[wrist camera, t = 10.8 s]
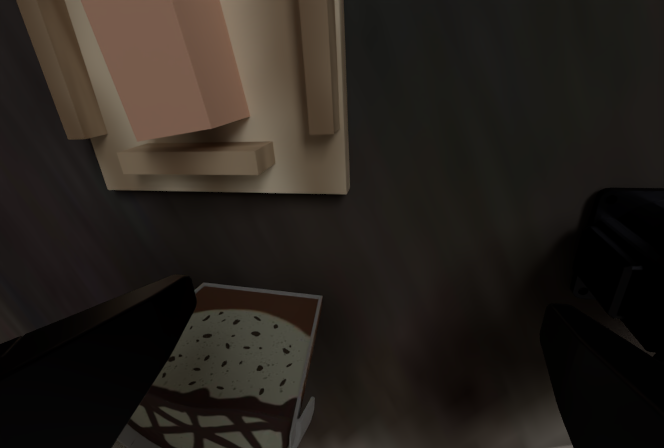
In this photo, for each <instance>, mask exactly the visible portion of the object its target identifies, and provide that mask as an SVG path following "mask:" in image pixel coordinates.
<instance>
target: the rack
mask: <svg viewBox="0 0 664 448" xmlns="http://www.w3.org/2000/svg"><path fill="white" fill-rule="evenodd" d="M16 1H17V4H18V6H19V9H20V12H21V14H22V17H23V20H24V22H25V25H26V28H27V31H28V33H29V36H30V39H31V41H32V44H33V47H34V49H35V52H36V55H37V57H38V60H39V63H40V65H41V68H42V71H43V73H44V76H45V79H46V81H47V84H48V87H49V89H50V92H51V95H52V97H53V100H54V103H55V105H56V108H57V111H58V113H59V116H60V119H61V121H62V124H63V127H64V130H65V132H66V135H67V138H68V139H88V138H90V139H91V142H92V145H93V148H94V151H95V154H96V156H97V159H98V162H99V165H100V168H101V171H102V174H103V177H104V180H105V182H106V185H107V188H108V190H145V191H198V192H251V193H303V194H347V192H348V190H349V188H350V174H349V145H348V116H347V87H346V58H345V29H344V0H220V3H221V7H222V11H223V14H224V18H225V22H226V26H227V29H228V33H229V37H230V41H231V45H232V48H233V52H234V56H235V60H236V63H237V67H238V71H239V75H240V79H241V82H242V86H243V90H244V94H245V97H246V101H247V105H248V109H249V112H250V117H247V118H244V119H240V120H237V121H234V122H231V123H228V124H225V125H222V126H218V127H215V128H212V129H207V130H201V131H196V132H190V133H184V134H179V135H173V136H167V137H162V138H156V139H150V140H145V141H139V142H137V140H136V137H135V135H134V132H133V130H132V127H131V125H130V122H129V120H128V117H127V115H126V112H125V110H124V107H123V105H122V102H121V100H120V97H119V95H118V92H117V90H116V87H115V85H114V82H113V80H112V77H111V75H110V73H109V70H108V68H107V65H106V63H105V60H104V58H103V55H102V53H101V50H100V48H99V45H98V43H97V40H96V38H95V35H94V33H93V30H92V28H91V25H90V23H89V20H88V18H87V15H86V13H85V10H84V8H83V5H82V3H81V0H16Z"/></svg>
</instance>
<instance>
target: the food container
mask: <svg viewBox="0 0 664 448" xmlns="http://www.w3.org/2000/svg"><path fill="white" fill-rule="evenodd" d="M194 291H195V294H196V298H197V305H196V308H195V310H194V312H193V314H192V316H191V318H190V320H189V322H188V324H187V326H186V328H185V330H184V332H183V333H182V335H181V337H180V339H179V341H178V343H177V345H176V347H175V349H174V351H173V352H172V354H171V356H170V358H169V359H168V361H167V363H166V364H165V366H164V367H163V369H162V370H161V372H160V373H159V375H158V377H157V378H156V380H155V381H154V383H153V384H152V386H151V387H150V389H149V390H148V392H147V394H146V395H145V397H144V398H143V400H142V401H141V403H140V404H139V406H138V408H137V409H136V411H135V412H134V414H133V415H132V417H131V418H130V420H129V421H128V423H127V425H126V426H125V428H124V429H123V431H122V432H121V434H120V435H119V437H118V438H117V440H118V441H119V442H120V443H122V444H123V445H124V446H125V447H127V448H297V447H298V445H299V443H300V441H301V439H302V437H303V435H304V433H305V431H306V429H307V427H308V426H309V424H310V422H311V419H312V415H313V412H314V401H315V397H311V399H310V401H309V403H308V404H307V406H306V408H305V410H304V412H303V413H302V415H301V417H300V419H299V416H300V411H301V406H302V401H303V396H304V392H305V387H306V382H307V377H308V372H309V367H310V363H311V358H312V353H313V348H314V343H315V338H316V333H317V329H318V324H319V319H320V314H321V309H322V300H323V296H319V295H310V294H302V293H293V292H284V291H275V290H266V289H257V288H248V287H239V286H230V285H221V284H212V283H202V284H201V285H200V286H199V287H198V288H197V289H195V290H194Z"/></svg>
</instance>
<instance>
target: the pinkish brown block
mask: <svg viewBox="0 0 664 448" xmlns="http://www.w3.org/2000/svg"><path fill="white" fill-rule="evenodd" d="M81 3H82V5H83V8H84V10H85V13H86V15H87V18H88V20H89V23H90V25H91V28H92V30H93V33H94V35H95V38H96V40H97V43H98V45H99V48H100V50H101V53H102V55H103V58H104V60H105V63H106V65H107V68H108V70H109V73H110V75H111V77H112V80H113V82H114V85H115V87H116V90H117V92H118V95H119V97H120V100H121V102H122V105H123V107H124V110H125V112H126V115H127V117H128V120H129V122H130V125H131V127H132V130H133V132H134V135H135V137H136V140H137V142H139V141H145V140H150V139H156V138H162V137H167V136H173V135H179V134H184V133H190V132H196V131H201V130H207V129H212V128H215V127H218V126H222V125H225V124H228V123H231V122H234V121H237V120H240V119H244V118H247V117H250V112H249V109H248V105H247V101H246V97H245V94H244V90H243V86H242V82H241V79H240V75H239V71H238V67H237V63H236V60H235V56H234V52H233V48H232V45H231V41H230V37H229V33H228V29H227V26H226V22H225V18H224V14H223V11H222V7H221V3H220V0H81Z"/></svg>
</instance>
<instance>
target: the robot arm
mask: <svg viewBox="0 0 664 448" xmlns="http://www.w3.org/2000/svg"><path fill="white" fill-rule="evenodd" d="M610 195H613V198H612V200H610V201H608V202H605V200H606V198H607V197H608V196H610ZM572 269H573V271H574V276H573V279H572V283H571V286H570V290H571V291H572V293H573V294H574V296H576V297H577V298H581V299H595V300H597V301H598V302H599V303H600V305H601V306H602V307H603V308H604V310H605V311H606V312H607V313H608V314H609V315H610V316H611V317H612V318H617V319H620V320H621V321H622V322H623V323H624V324H625V326H626V327H627V328H628V329H629V331H630V332H631V333H632V334H633V335H634V337H635V338H636V339H637V340H638V341H639V343H640V344H641V345H642V346H643V348H644V349H645V350H646V351H649V352H656V354H655V355H654V356H653V357H652V356H650V355H649V354H647V353H646V352H644V351H642V350H641V349H639V348H638V347H636V346H635V345H633V344H631V343H630V342H628V341H627V340H625V339H623V338H622V337H620V336H619V335H617V334H616V333H614V332H612V331H611V330H609V329H608V328H606V327H605V326H603V325H601V324H600V323H598V322H597V321H595V320H593V319H592V318H590V317H589V316H587V315H586V314H584V313H582V312H581V311H579V310H578V309H576V308H575V307H573V306H571V305H567V304H554V303H551V304H549V305H548V306H547V308H546V311H545V315H544V319H543V323H542V327H541V330H540V342H541V346H542V350H543V354H544V357H545V361H546V365H547V369H548V372H549V376H550V380H551V384H552V387H553V391H554V395H555V398H556V402H557V405H558V408H559V411H560V414H561V417H562V419H563V422H564V425H565V427H566V430H567V432H568V435H569V437H570V440H571V442H572V445H573V448H664V188H605V189H603V190H601V191H600V192H599V193H598V194H597V196H596V199H595V202H594V206H593V209H592V213H591V216H590V220H589V223H588V226H587V227H586V228H585V229H584V230H583V231H582V235H581V238H580V242H579V245H578V249H577V253H576V256H575V260H574V263H573V267H572ZM584 287H585V289H584V290H582V291H578V290H579V289H580V288H584ZM196 305H197V298H196V294H195V291H194V287H193V283H192V280H191V278H190V277H189V276H187V275H177V274H176V275H172V276H169V277H167V278H164V279H162V280H159V281H157V282H154V283H152V284H149V285H147V286H144V287H142V288H139V289H137V290H134V291H132V292H129V293H127V294H124V295H122V296H119V297H117V298H114V299H112V300H109V301H107V302H104V303H102V304H99V305H97V306H94V307H92V308H89V309H87V310H84V311H82V312H79V313H77V314H74V315H72V316H69V317H67V318H64V319H62V320H59V321H57V322H55V323H52V324H50V325H47V326H45V327H42V328H40V329H37V330H35V331H32V332H30V333H27V334H25V335H24V336H23V337H22V336H20V337H17V338H14V339H12V340H10V341H7V342H5V343H2V344H0V448H112V446H113V445H114V443H115V442H116V440H117V438H118V437H119V435H120V434H121V432H122V431H123V429H124V428H125V426H126V425H127V423H128V421H129V420H130V418H131V417H132V415H133V414H134V412H135V411H136V409H137V408H138V406H139V404H140V403H141V401H142V400H143V398H144V397H145V395H146V394H147V392H148V390H149V389H150V387H151V386H152V384H153V383H154V381H155V380H156V378H157V377H158V375H159V373H160V372H161V370H162V369H163V367H164V366H165V364H166V363H167V361H168V359H169V358H170V356H171V354H172V352H173V351H174V349H175V347H176V345H177V343H178V341H179V339H180V337H181V335H182V333H183V332H184V330H185V328H186V326H187V324H188V322H189V320H190V318H191V316H192V314H193V312H194V310H195V308H196Z"/></svg>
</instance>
